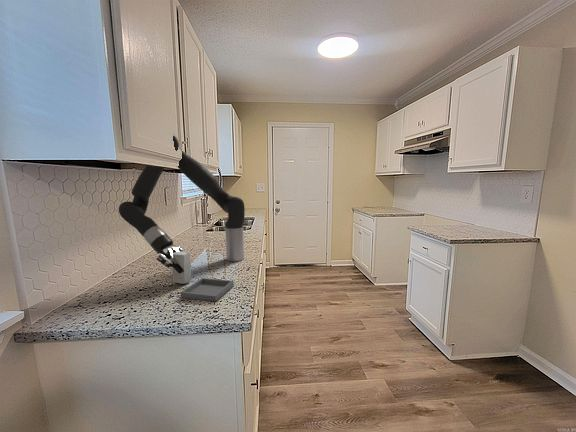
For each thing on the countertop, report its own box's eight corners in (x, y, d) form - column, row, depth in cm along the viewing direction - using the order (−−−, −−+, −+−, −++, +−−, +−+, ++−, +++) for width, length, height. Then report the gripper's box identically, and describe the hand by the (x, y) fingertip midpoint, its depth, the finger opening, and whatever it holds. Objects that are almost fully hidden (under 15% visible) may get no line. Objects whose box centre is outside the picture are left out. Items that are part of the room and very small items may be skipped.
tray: (202, 283, 108) (202, 277, 107) (233, 286, 104) (233, 280, 104) (180, 298, 94) (180, 292, 94) (215, 302, 91) (215, 296, 91)
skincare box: (172, 282, 107) (170, 253, 105) (180, 278, 111) (177, 250, 109) (185, 284, 105) (183, 255, 103) (192, 280, 109) (190, 251, 107)
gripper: (150, 237, 100) (179, 270, 99) (174, 229, 114) (201, 258, 112) (139, 250, 102) (168, 282, 101) (165, 241, 116) (191, 269, 115)
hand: (185, 269), depth 107 cm, fingers closed on skincare box, 4 cm apart
